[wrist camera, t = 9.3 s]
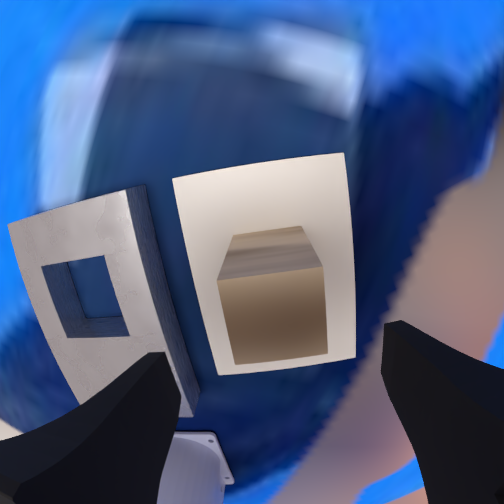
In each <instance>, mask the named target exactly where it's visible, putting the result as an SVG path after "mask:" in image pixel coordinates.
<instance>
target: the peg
mask: <svg viewBox="0 0 504 504" xmlns="http://www.w3.org/2000/svg"><path fill="white" fill-rule="evenodd" d="M217 285H218V290H219V295H220V300H221V305H222V309H223V314H224V318H225V323H226V328H227V332H228V337H229V341H230V345H231V350H232V354H233V359H234V363H235V365H242V364H253V363H263V362H272V361H280V360H288V359H296V358H303V357H310V356H317V355H323V354H328V340H327V318H326V301H325V285H324V272H323V265H322V263H321V261H320V260H319V258H318V256H317V254H316V252H315V250H314V248H313V247H312V245H311V243H310V241H309V239H308V237H307V235H306V234H305V232H304V230H303V228H302V226H295V227H287V228H280V229H273V230H265V231H258V232H251V233H244V234H237V235H233V237H232V240H231V242H230V245H229V248H228V250H227V253H226V256H225V259H224V261H223V264H222V267H221V270H220V272H219V275H218V278H217Z"/></svg>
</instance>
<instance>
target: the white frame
mask: <svg viewBox="0 0 504 504" xmlns="http://www.w3.org/2000/svg"><path fill="white" fill-rule="evenodd" d="M8 228H9V233H10V236H11V240H12V244H13V248H14V251H15V255H16V258H17V262H18V265H19V268H20V271H21V274H22V278H23V281H24V283H25V286H26V289H27V292H28V295H29V298H30V300H31V303H32V306H33V308H34V311H35V313H36V316H37V318H38V321H39V323H40V326H41V328H42V330H43V333H44V335H45V337H46V339H47V342H48V344H49V346H50V348H51V350H52V352H53V355H54V357H55V359H56V361H57V363H58V365H59V367H60V369H61V371H62V373H63V374H64V376H65V378H66V380H67V382H68V384H69V386H70V387H71V389H72V391H73V393H74V395H75V396H76V398H77V400H78V402H79V403H80V405H81V404H83V403H84V402H86V401H87V400H88V399H90V398H91V397H92V396H94V395H95V394H96V393H98V392H99V391H101V390H102V389H103V388H105V387H106V386H107V385H108V384H110V383H111V382H112V381H113V380H115V379H116V378H117V377H118V376H119V375H121V374H122V373H123V372H124V371H126V370H127V369H128V368H129V367H130V366H132V365H133V364H134V363H135V362H136V361H138V360H139V359H140V358H141V357H143V356H144V355H146V354H147V353H149V352H165V353H166V356H167V359H168V361H169V364H170V367H171V370H172V372H173V375H174V378H175V380H176V383H177V385H178V388H179V391H180V393H181V396H182V397H181V405H180V412H179V417H194V414H195V410H196V406H197V402H198V398H199V394H200V388H199V385H198V382H197V380H196V377H195V374H194V371H193V368H192V365H191V361H190V358H189V355H188V352H187V349H186V346H185V343H184V339H183V336H182V333H181V329H180V326H179V323H178V319H177V316H176V312H175V309H174V305H173V302H172V298H171V294H170V291H169V287H168V283H167V279H166V276H165V272H164V268H163V264H162V260H161V256H160V252H159V247H158V243H157V239H156V235H155V230H154V226H153V221H152V217H151V212H150V207H149V202H148V197H147V192H146V187H145V185H141V186H136V187H132V188H128V189H124V190H120V191H116V192H112V193H108V194H104V195H100V196H97V197H93V198H89V199H86V200H82V201H78V202H75V203H71V204H68V205H65V206H61V207H58V208H55V209H51V210H48V211H45V212H42V213H38V214H35V215H32V216H29V217H27V218H24V219H21V220H18V221H15V222H13V223H10V224H8ZM101 255H104V256H105V260H106V263H107V267H108V270H109V274H110V277H111V280H112V284H113V287H114V290H115V293H116V296H117V299H118V302H119V305H120V308H121V311H122V314H123V316H118V317H104V318H88V319H86V317H85V315H84V312H83V309H82V307H81V304H80V301H79V298H78V295H77V292H76V289H75V286H74V283H73V280H72V277H71V274H70V271H69V268H68V264H67V261H72V260H78V259H84V258H89V257H95V256H101Z"/></svg>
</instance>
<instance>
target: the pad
mask: <svg viewBox="0 0 504 504" xmlns="http://www.w3.org/2000/svg"><path fill="white" fill-rule="evenodd" d="M172 180H173V186H174V191H175V196H176V201H177V206H178V211H179V216H180V221H181V226H182V231H183V235H184V240H185V245H186V249H187V254H188V258H189V263H190V267H191V271H192V276H193V280H194V284H195V288H196V292H197V297H198V301H199V305H200V309H201V313H202V316H203V320H204V324H205V328H206V332H207V336H208V339H209V343H210V347H211V350H212V354H213V358H214V361H215V365H216V368H217V372H218V375H229V374H241V373H252V372H261V371H270V370H279V369H287V368H294V367H301V366H308V365H315V364H321V363H327V362H333V361H339V360H344V359H349V358H355V356H356V305H355V274H354V254H353V238H352V225H351V213H350V203H349V193H348V184H347V175H346V167H345V159H344V153H334V154H324V155H315V156H306V157H298V158H290V159H283V160H275V161H268V162H262V163H255V164H248V165H242V166H236V167H230V168H224V169H219V170H213V171H208V172H202V173H197V174H192V175H187V176H182V177H177V178H173V179H172ZM295 226H302V228H303V230H304V232H305V234H306V235H307V237H308V239H309V241H310V243H311V245H312V247H313V248H314V250H315V252H316V254H317V256H318V258H319V260H320V261H321V263H322V265H323V272H324V285H325V301H326V318H327V340H328V354H323V355H317V356H310V357H303V358H296V359H288V360H280V361H272V362H263V363H253V364H242V365H235V363H234V359H233V354H232V350H231V345H230V341H229V337H228V332H227V328H226V323H225V318H224V314H223V309H222V305H221V300H220V295H219V290H218V285H217V278H218V275H219V272H220V270H221V267H222V264H223V261H224V259H225V256H226V253H227V250H228V248H229V245H230V242H231V240H232V237H233V235H237V234H244V233H251V232H258V231H265V230H273V229H280V228H287V227H295Z"/></svg>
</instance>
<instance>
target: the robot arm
mask: <svg viewBox="0 0 504 504" xmlns="http://www.w3.org/2000/svg"><path fill="white" fill-rule="evenodd" d="M381 374H382V377H383V380H384V383H385V387H386V390H387V392H388V396H389V397H390V400H391V402H392V404H393V406H394V408H395V410H396V413H397V415H398V417H399V419H400V421H401V423H402V425H403V427H404V429H405V431H406V433H407V436H408V438H409V440H410V442H411V444H412V446H413V449H414V452H415V454H416V457H417V461H418V464H419V467H420V471H421V474H422V478H423V482H424V486H425V490H426V494H427V499H428V504H504V369H501V368H498V367H495V366H493V365H490V364H487V363H484V362H482V361H479V360H477V359H474V358H472V357H470V356H468V355H466V354H464V353H461V352H459V351H457V350H455V349H453V348H451V347H449V346H448V345H446V344H444V343H442V342H440V341H438V340H437V339H435V338H433V337H431V336H429V335H428V334H426V333H424V332H422V331H421V330H419V329H417V328H415V327H413V326H412V325H410V324H408V323H406V322H404V321H402V320H399V321H395V322H390V323H385V324H384V337H383V352H382V365H381ZM181 397H182V396H181V393H180V391H179V388H178V385H177V383H176V380H175V378H174V375H173V372H172V370H171V367H170V364H169V361H168V359H167V356H166V353H165V352H149V353H147V354H146V355H144V356H143V357H141V358H140V359H139V360H138V361H136V362H135V363H134V364H133V365H132V366H130V367H129V368H128V369H127V370H126V371H124V372H123V373H122V374H121V375H119V376H118V377H117V378H116V379H115V380H113V381H112V382H111V383H110V384H108V385H107V386H106V387H105V388H103V389H102V390H101V391H99V392H98V393H96V394H95V395H94V396H92V397H91V398H90V399H88V400H87V401H86V402H84V403H83V404H81V405H80V406H78V407H77V408H75V409H73V410H72V411H70V412H68V413H67V414H65V415H63V416H62V417H60V418H58V419H56V420H54V421H52V422H50V423H47V424H45V425H43V426H41V427H39V428H37V429H35V430H32V431H29V432H27V433H24V434H21V435H19V436H15V437H12V438H9V439H5V440H1V441H0V504H223V498H224V489H225V484H233V483H234V478H233V476H232V474H231V471H230V469H229V467H228V464H227V462H226V459H225V457H224V455H223V452H222V450H221V447H220V445H219V442H218V440H217V437H216V435H215V434H214V433H212V432H175V429H176V426H177V422H178V418H179V412H180V405H181Z"/></svg>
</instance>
